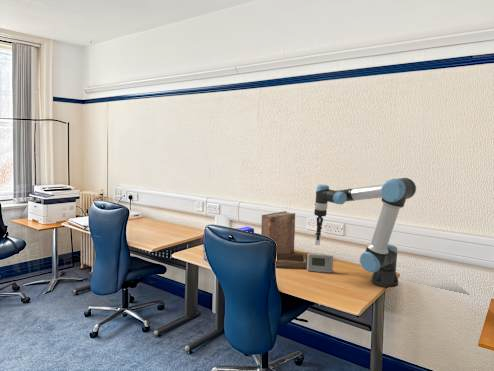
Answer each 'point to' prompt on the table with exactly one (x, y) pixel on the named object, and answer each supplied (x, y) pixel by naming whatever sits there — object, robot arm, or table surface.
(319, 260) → the digital clock
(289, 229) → the book
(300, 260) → the brown rectangular tray
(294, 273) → the table surface
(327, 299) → the table surface
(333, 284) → the table surface
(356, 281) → the table surface
